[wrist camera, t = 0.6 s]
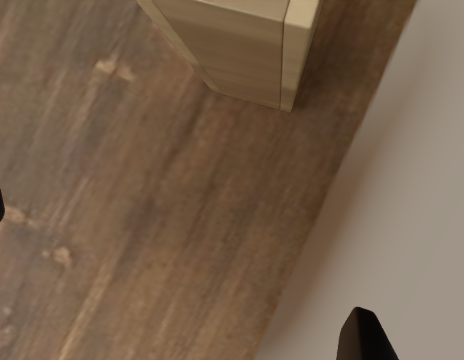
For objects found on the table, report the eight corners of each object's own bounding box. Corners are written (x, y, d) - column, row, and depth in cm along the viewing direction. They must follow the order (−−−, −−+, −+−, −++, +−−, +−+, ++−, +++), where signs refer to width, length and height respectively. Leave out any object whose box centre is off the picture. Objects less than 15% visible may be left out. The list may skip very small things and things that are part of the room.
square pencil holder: (290, 113, 21) (310, 29, 8) (212, 91, 21) (117, -19, 9) (317, 24, 20) (379, -204, 8) (236, 4, 21) (175, -241, 8)
